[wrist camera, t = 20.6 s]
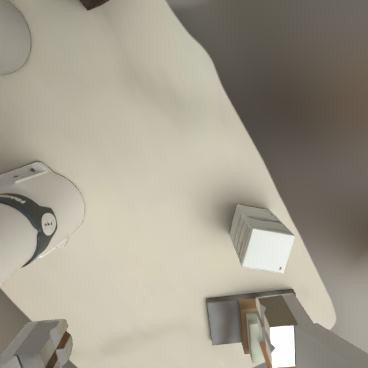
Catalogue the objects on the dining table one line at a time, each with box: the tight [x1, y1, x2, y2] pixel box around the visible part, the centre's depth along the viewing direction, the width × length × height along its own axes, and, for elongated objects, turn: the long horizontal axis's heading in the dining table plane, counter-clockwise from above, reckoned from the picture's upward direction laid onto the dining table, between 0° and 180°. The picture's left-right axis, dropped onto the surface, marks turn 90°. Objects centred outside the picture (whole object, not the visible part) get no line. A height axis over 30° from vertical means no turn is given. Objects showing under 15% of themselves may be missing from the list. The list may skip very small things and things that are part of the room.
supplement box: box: [230, 204, 295, 274], centre depth 45 cm, size 7×7×13 cm
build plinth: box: [207, 289, 296, 363], centre depth 53 cm, size 20×12×8 cm, turn 97°
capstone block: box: [260, 341, 296, 368], centre depth 45 cm, size 4×5×9 cm
